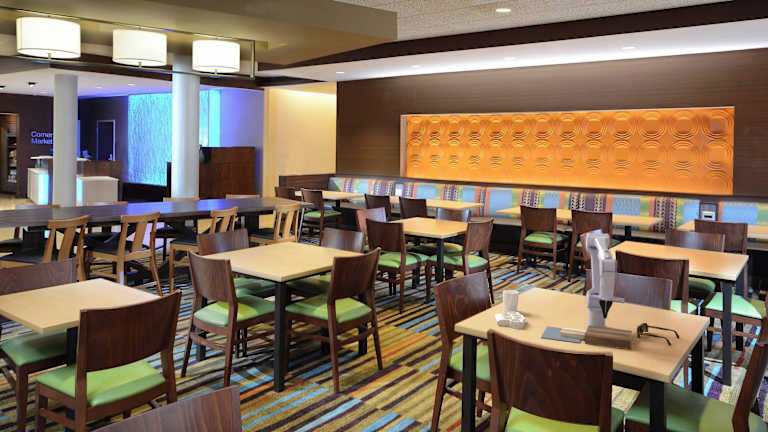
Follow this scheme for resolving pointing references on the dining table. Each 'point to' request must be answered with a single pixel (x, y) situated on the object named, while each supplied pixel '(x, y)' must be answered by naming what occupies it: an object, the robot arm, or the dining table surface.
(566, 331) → the cream rectangular block
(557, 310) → the dining table surface
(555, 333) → the mat
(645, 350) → the dining table surface
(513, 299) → the white cup
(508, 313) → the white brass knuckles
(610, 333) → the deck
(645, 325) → the sunglasses
